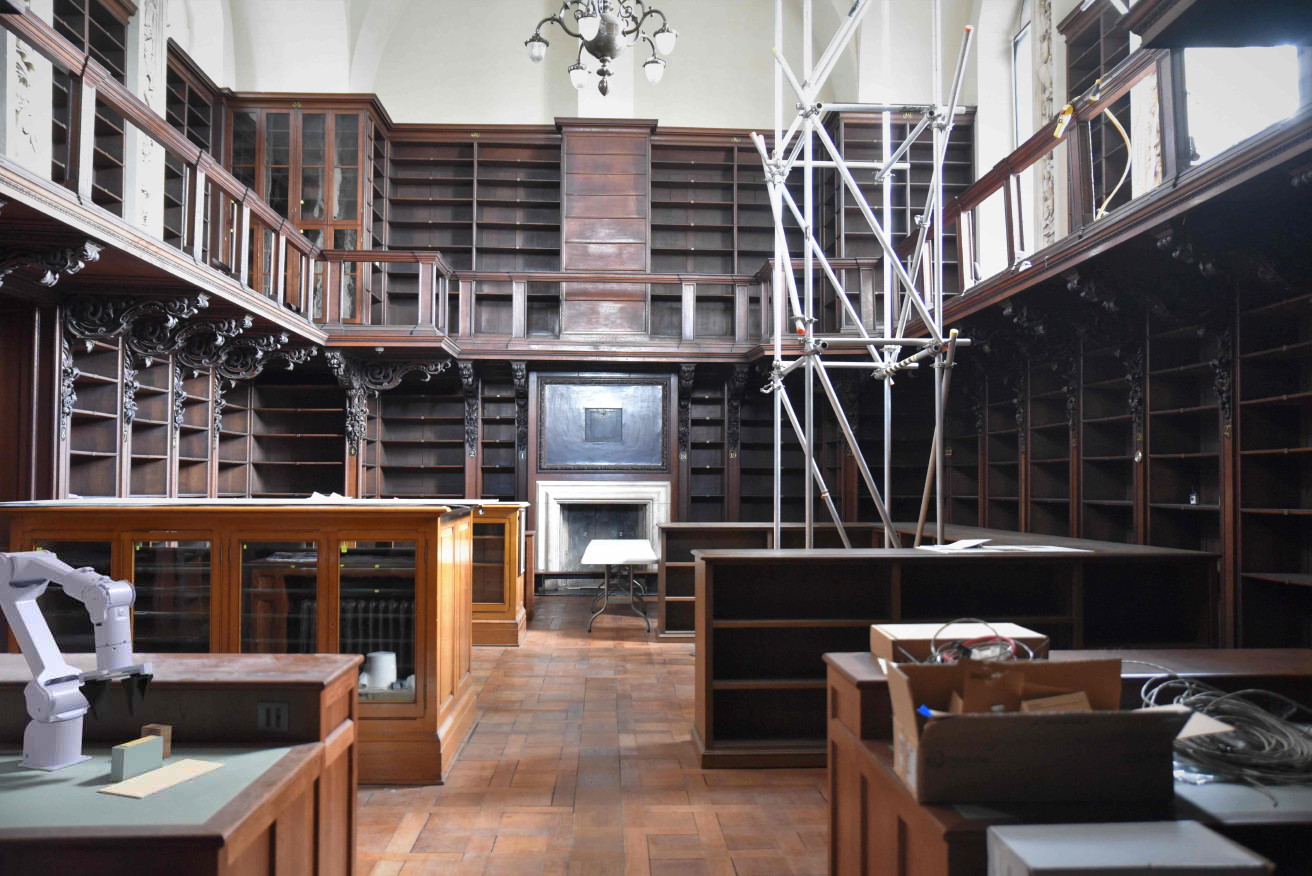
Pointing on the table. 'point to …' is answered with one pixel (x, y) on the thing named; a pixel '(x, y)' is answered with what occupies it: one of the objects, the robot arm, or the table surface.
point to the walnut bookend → (159, 731)
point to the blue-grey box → (136, 758)
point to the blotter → (162, 778)
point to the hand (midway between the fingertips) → (118, 716)
